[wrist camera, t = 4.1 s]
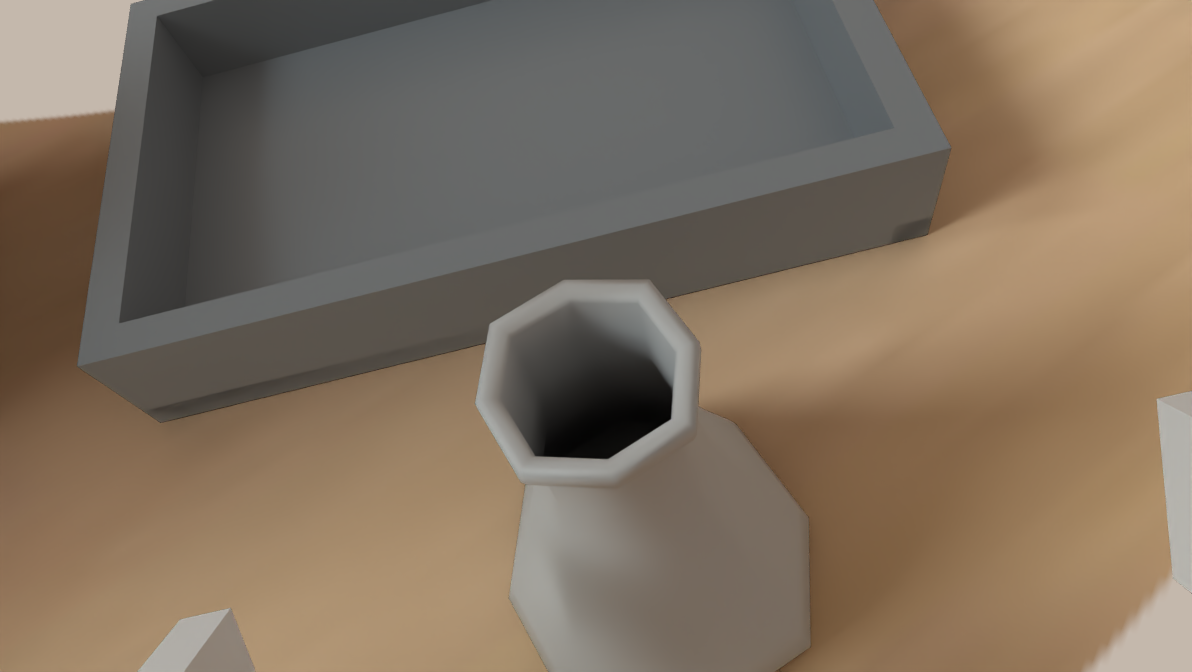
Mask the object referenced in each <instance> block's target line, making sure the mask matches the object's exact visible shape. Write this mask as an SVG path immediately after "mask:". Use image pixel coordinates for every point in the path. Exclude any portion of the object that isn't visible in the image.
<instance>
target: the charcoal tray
mask: <svg viewBox="0 0 1192 672" xmlns="http://www.w3.org/2000/svg"><path fill="white" fill-rule="evenodd" d="M950 151H951V146H950V144H949V142H948V140H947V139H946V137H945V135H944V133H943V131H942V129H941V127H940V125H939V123H938V122H937V120H936V118H935V116H934V114H933V112H932V110H931V108H930V106H929V104H928V103H927V101H926V99H925V97H924V95H923V93H922V91H921V89H920V87H919V86H918V84H917V82H916V80H915V78H914V76H913V74H912V72H911V70H910V68H909V67H908V65H907V63H906V61H905V59H904V57H903V55H902V53H901V51H900V50H899V48H898V46H897V44H896V42H895V40H894V38H893V36H892V34H891V32H890V31H889V29H888V27H887V25H886V23H885V21H884V19H883V17H882V15H881V14H880V12H879V10H878V8H877V6H876V4H875V2H874V0H143V1H140V2H136V3H133V4H131V7H130V13H129V20H128V27H127V34H126V40H125V47H124V53H123V60H122V67H121V74H120V80H119V87H118V94H117V101H116V107H115V114H114V121H113V127H112V134H111V141H110V148H109V154H108V161H107V168H106V174H105V181H104V188H103V195H102V201H101V208H100V215H99V222H98V228H97V235H96V242H95V248H94V255H93V262H92V269H91V275H90V282H89V289H88V295H87V302H86V309H85V316H84V322H83V329H82V336H81V343H80V349H79V356H78V363H77V367H78V368H80V369H81V370H83V371H84V372H86V373H87V374H89V375H90V376H92V377H93V378H95V379H96V380H98V381H99V382H101V383H102V384H104V385H105V386H107V387H108V388H110V389H111V390H113V391H114V392H116V393H117V394H119V395H120V396H122V397H123V398H125V399H126V400H128V401H129V402H131V403H132V404H134V405H135V406H136V407H138V408H139V409H141V410H142V411H144V412H145V413H147V414H148V415H150V416H151V417H153V418H154V419H156V420H157V421H159V422H160V423H161V422H165V421H169V420H173V419H177V418H181V417H185V416H190V415H194V414H198V413H202V412H206V411H210V410H214V409H218V408H222V407H226V406H230V405H234V404H239V403H243V402H247V401H251V400H255V399H259V398H263V397H267V396H271V395H275V394H279V393H283V392H287V391H292V390H296V389H300V388H304V387H308V386H312V385H316V384H320V383H324V382H328V381H332V380H336V379H341V378H345V377H349V376H353V375H357V374H361V373H365V372H369V371H373V370H377V369H381V368H385V367H390V366H394V365H398V364H402V363H406V362H410V361H414V360H418V359H422V358H426V357H430V356H434V355H438V354H443V353H447V352H451V351H455V350H459V349H463V348H467V347H471V346H475V345H479V344H483V343H486V341H487V335H488V330H489V324H490V323H492V322H494V321H495V320H497V319H499V318H500V317H502V316H504V315H505V314H507V313H509V312H510V311H512V310H514V309H516V308H517V307H519V306H521V305H522V304H524V303H526V302H527V301H529V300H531V299H532V298H534V297H536V296H537V295H539V294H541V293H542V292H544V291H546V290H547V289H549V288H551V287H552V286H554V285H556V284H557V283H559V282H561V281H562V280H639V279H650V281H651V282H652V283H653V284H654V286H655V287H656V288H657V289H658V291H659V292H660V293H661V294H662V296H663V297H664V298H665V299H667V298H671V297H675V296H679V295H683V294H687V293H691V292H696V291H700V290H704V289H708V288H712V287H716V286H720V285H724V284H728V283H732V282H736V281H740V280H745V279H749V278H753V277H757V276H761V275H765V274H769V273H773V272H777V271H781V270H785V269H789V268H793V267H798V266H802V265H806V264H810V263H814V262H818V261H822V260H826V259H830V258H834V257H838V256H842V255H847V254H851V253H855V252H859V251H863V250H867V249H871V248H875V247H879V246H883V245H887V244H891V243H895V242H900V241H904V240H908V239H912V238H916V237H920V236H924V235H927V234H928V231H929V227H930V223H931V220H932V216H933V213H934V209H935V205H936V202H937V198H938V195H939V191H940V187H941V184H942V180H943V176H944V173H945V169H946V166H947V162H948V158H949V155H950Z"/></svg>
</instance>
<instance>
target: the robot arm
mask: <svg viewBox="0 0 1192 672" xmlns="http://www.w3.org/2000/svg"><path fill="white" fill-rule="evenodd" d="M1157 409H1158V420H1159V431H1160V442H1161V453H1162V464H1163V475H1164V486H1165V497H1166V508H1167V519H1168V530H1169V541H1170V552H1171V563H1172V574H1173V579H1174V580H1176V581H1177V582H1178V583H1179V584H1180V585H1182V586H1183V587H1184V588H1185V589H1187V590H1188V591H1189V592H1190V593H1192V391H1189V392H1185V393H1180V394H1176V395H1172V396H1167V397H1163V398H1158V399H1157ZM137 672H256V671H255V668H254V666H253V663H252V661H251V658H250V656H249V653H248V651H247V648H246V645H245V643H244V640H243V638H242V635H241V633H240V630H239V628H238V625H237V623H236V620H235V618H234V615H233V612H232V610H231V608H228V609H224V610H219V611H215V612H210V613H206V614H202V615H197V616H193V617H188V618H184V619H180V620H179V621H178V623H177V624H176V625H175V626H174V628H173V629H172V630H171V631H170V632H169V634H168V635H167V636H166V637H165V638H164V640H163V641H162V642H161V643H160V645H159V646H158V647H157V648H156V649H155V651H154V652H153V653H152V654H151V656H150V657H149V658H148V659H147V660H146V662H145V663H144V664H143V665H142V667H141V668H140V669H139V670H138V671H137Z"/></svg>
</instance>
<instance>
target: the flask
mask: <svg viewBox="0 0 1192 672" xmlns="http://www.w3.org/2000/svg"><path fill="white" fill-rule="evenodd" d="M700 363H701V347H700V343H699V341H698V340H697V338H696V337H695V336H694V335H693V333H692V332H691V331H690V330H689V328H688V327H687V326H686V325H685V323H684V322H683V321H682V320H681V318H680V317H679V316H678V315H677V313H676V312H675V311H674V310H673V308H672V307H671V306H670V304H669V303H668V302H667V301H666V299H665V298H664V297H663V296H662V294H661V293H660V292H659V291H658V289H657V288H656V287H655V286H654V284H653V283H652V282H651V281H650V279H639V280H562V281H561V282H559V283H557V284H556V285H554V286H552V287H551V288H549V289H547V290H546V291H544V292H542V293H541V294H539V295H537V296H536V297H534V298H532V299H531V300H529V301H527V302H526V303H524V304H522V305H521V306H519V307H517V308H516V309H514V310H512V311H510V312H509V313H507V314H505V315H504V316H502V317H500V318H499V319H497V320H495V321H494V322H492V323H490V324H489V330H488V335H487V341H486V346H485V352H484V357H483V363H482V368H481V373H480V379H479V384H478V390H477V395H476V401H475V405H476V407H477V409H478V410H479V412H480V414H481V416H482V417H483V419H484V421H485V422H486V424H487V426H488V427H489V429H490V431H491V433H492V434H493V436H494V438H495V439H496V441H497V443H498V444H499V446H500V448H501V450H502V451H503V453H504V455H505V456H506V458H507V460H508V462H509V463H510V465H511V467H512V468H513V470H514V472H515V473H516V475H517V477H518V479H519V480H520V482H521V483H524V484H525V490H524V497H523V504H522V511H521V518H520V524H519V531H518V538H517V545H516V552H515V559H514V565H513V572H512V579H511V586H510V593H509V600H510V601H511V603H512V605H513V607H514V609H515V611H516V613H517V614H518V616H519V618H520V620H521V622H522V624H523V626H524V628H525V629H526V631H527V633H528V635H529V637H530V639H531V641H532V642H533V644H534V646H535V648H536V650H537V652H538V654H539V656H540V657H541V659H542V661H543V663H544V665H545V667H546V669H547V671H548V672H775V671H777V670H778V669H779V668H781V667H782V666H784V665H785V664H787V663H788V662H790V661H791V660H792V659H794V658H795V657H797V656H798V655H800V654H801V653H803V652H804V651H805V650H807V649H808V648H810V647H811V637H810V565H809V517H808V516H807V515H806V514H805V512H804V511H803V510H802V508H801V507H800V506H799V504H798V503H797V502H796V501H795V499H794V498H793V497H792V495H791V494H790V493H789V492H788V490H787V489H786V488H785V486H784V485H783V484H782V483H781V481H780V480H779V479H778V477H777V476H776V475H775V474H774V472H773V471H772V470H771V468H770V467H769V466H768V464H767V463H766V462H765V461H764V459H763V458H762V457H761V455H760V454H759V453H758V452H757V450H756V449H755V448H754V446H753V445H752V444H751V443H750V441H749V440H748V439H747V437H746V436H745V435H744V433H743V432H742V431H741V430H740V428H739V427H738V426H737V424H735V423H733V422H732V421H730V420H728V419H726V418H723V417H721V416H718V415H716V414H713V413H711V412H708V411H706V410H704V409H702V408H701V407H699V406H698V403H699V383H700Z"/></svg>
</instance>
